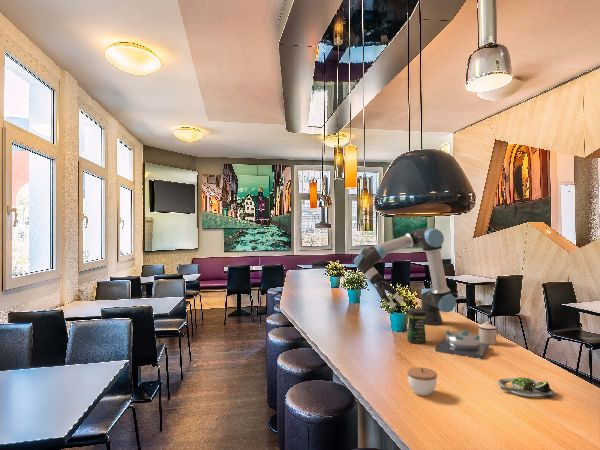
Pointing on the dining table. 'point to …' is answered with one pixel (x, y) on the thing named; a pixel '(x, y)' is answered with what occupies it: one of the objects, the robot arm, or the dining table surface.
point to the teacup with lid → (487, 333)
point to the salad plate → (527, 387)
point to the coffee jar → (416, 325)
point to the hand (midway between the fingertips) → (398, 304)
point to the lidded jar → (422, 380)
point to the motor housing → (462, 344)
